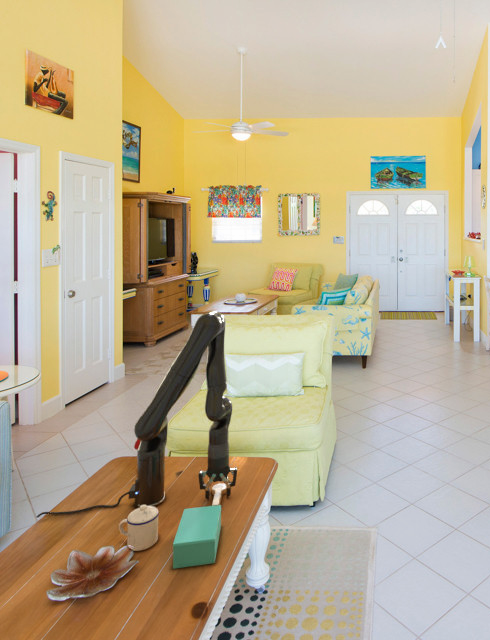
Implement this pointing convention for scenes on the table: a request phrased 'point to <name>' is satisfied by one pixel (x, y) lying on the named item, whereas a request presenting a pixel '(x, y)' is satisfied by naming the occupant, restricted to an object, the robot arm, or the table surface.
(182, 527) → the lunchbox lid
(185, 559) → the box
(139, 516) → the teacup with lid
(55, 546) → the table surface
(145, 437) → the robot arm
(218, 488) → the spoon
